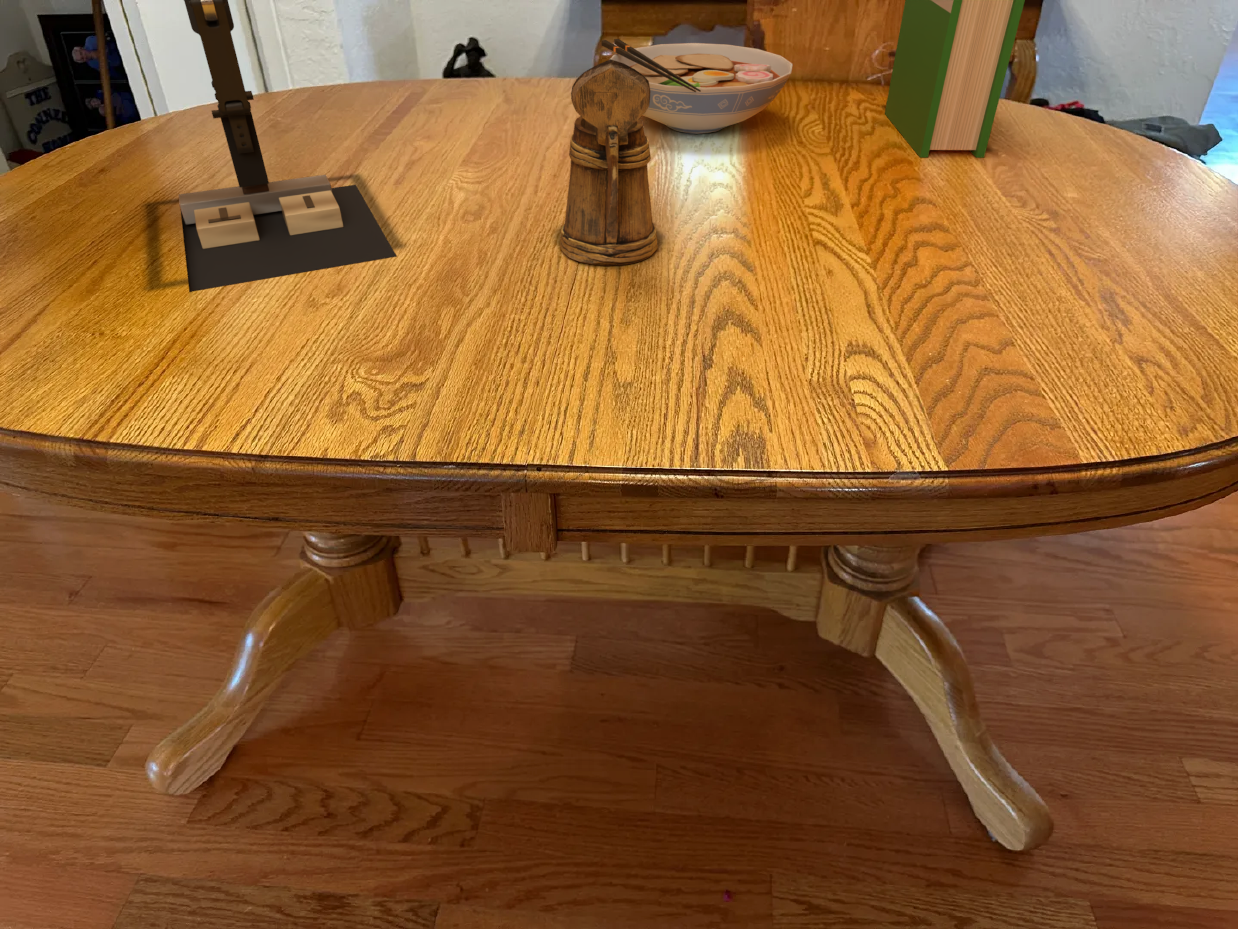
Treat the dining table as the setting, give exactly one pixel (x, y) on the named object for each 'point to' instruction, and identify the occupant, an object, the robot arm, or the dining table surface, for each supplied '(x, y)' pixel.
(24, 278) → the dining table surface
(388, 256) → the mat
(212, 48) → the robot arm
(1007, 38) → the hardback book
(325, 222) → the tile
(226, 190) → the scraper
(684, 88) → the ramen bowl
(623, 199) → the wooden mug
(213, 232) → the tile
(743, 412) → the dining table surface
